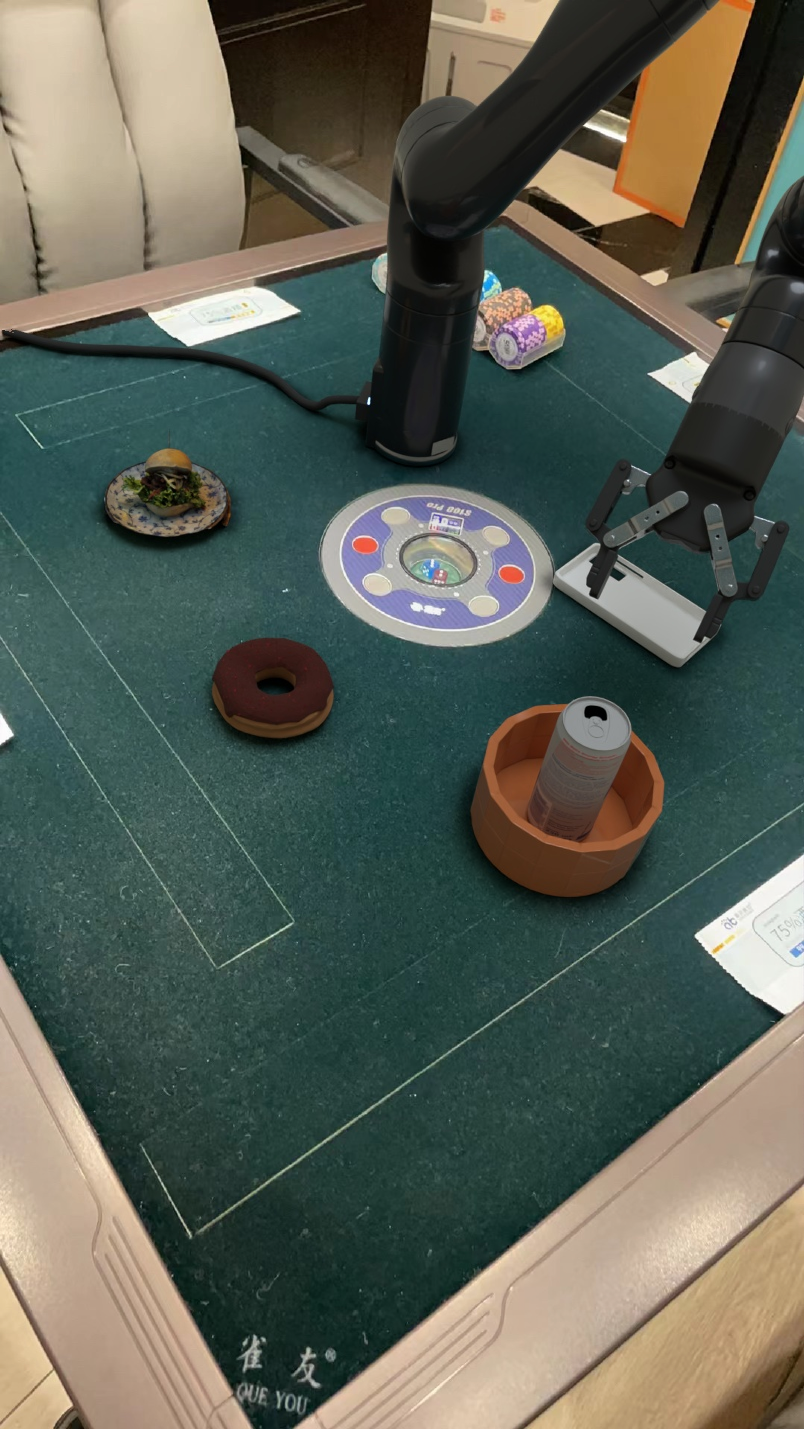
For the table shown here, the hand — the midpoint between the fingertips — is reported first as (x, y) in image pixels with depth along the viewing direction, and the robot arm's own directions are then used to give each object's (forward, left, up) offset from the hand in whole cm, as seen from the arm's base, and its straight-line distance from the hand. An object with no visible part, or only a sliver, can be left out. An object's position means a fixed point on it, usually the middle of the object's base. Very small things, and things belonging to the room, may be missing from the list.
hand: (644, 618), depth 80 cm
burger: (-45, +14, -13) cm, 48 cm away
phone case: (+1, +16, -13) cm, 21 cm away
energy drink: (-2, -11, -13) cm, 17 cm away
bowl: (-3, -11, -13) cm, 17 cm away
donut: (-28, -6, -13) cm, 31 cm away
